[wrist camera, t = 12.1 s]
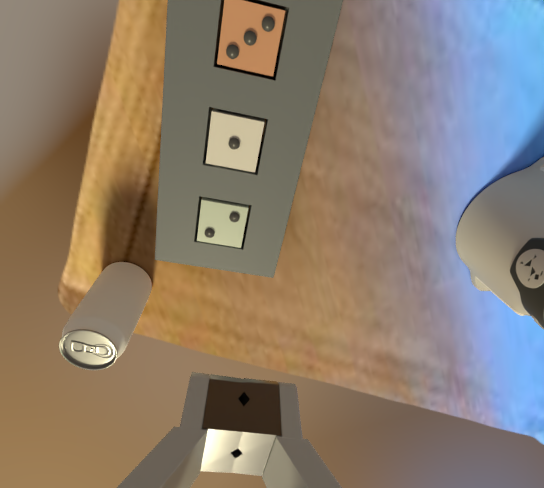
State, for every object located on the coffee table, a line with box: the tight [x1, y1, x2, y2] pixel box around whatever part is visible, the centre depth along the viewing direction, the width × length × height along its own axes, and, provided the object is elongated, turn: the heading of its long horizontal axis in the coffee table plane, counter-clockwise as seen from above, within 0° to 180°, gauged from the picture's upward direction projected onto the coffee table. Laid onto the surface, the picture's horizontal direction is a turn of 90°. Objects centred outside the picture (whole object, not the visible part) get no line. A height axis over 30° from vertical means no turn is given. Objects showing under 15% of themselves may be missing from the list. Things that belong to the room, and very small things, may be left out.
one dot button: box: [206, 108, 264, 172], centre depth 35 cm, size 5×5×3 cm
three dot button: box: [217, 0, 285, 76], centre depth 31 cm, size 5×5×3 cm
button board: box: [155, 0, 343, 278], centre depth 36 cm, size 14×30×3 cm, turn 168°
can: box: [59, 262, 152, 370], centre depth 40 cm, size 6×6×12 cm
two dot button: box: [197, 197, 249, 248], centre depth 40 cm, size 5×5×3 cm
